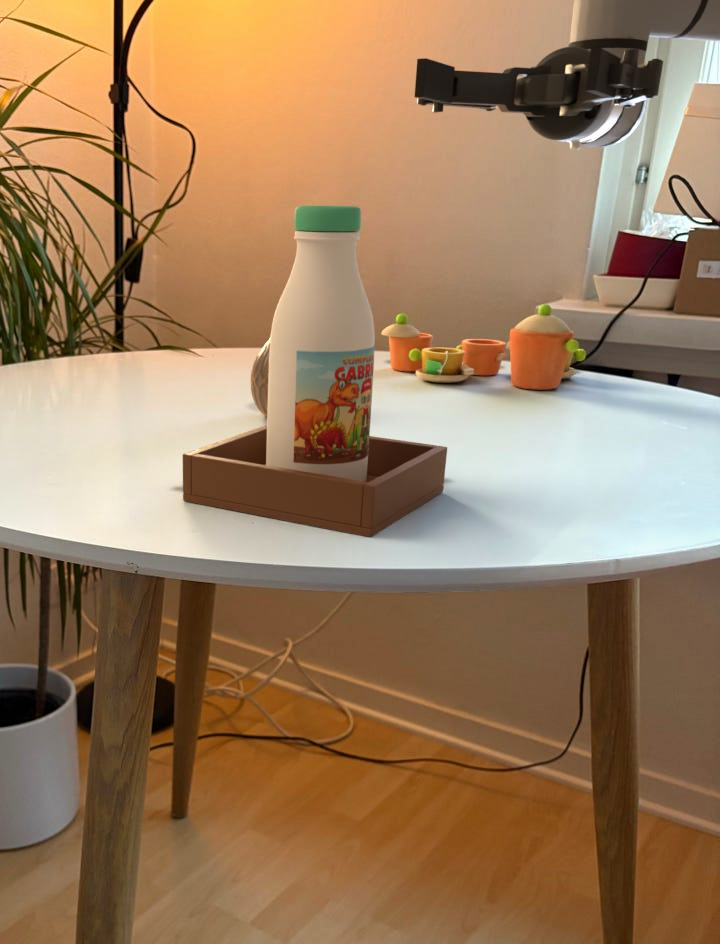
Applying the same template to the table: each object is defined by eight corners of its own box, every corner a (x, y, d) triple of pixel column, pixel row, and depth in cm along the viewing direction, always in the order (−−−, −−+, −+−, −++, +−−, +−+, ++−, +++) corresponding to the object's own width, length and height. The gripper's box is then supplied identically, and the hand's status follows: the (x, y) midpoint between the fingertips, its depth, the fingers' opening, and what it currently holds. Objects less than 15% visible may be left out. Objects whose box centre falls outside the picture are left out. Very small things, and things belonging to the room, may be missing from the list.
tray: (443, 491, 78) (447, 446, 76) (370, 537, 67) (374, 486, 66) (272, 463, 85) (273, 422, 84) (182, 500, 75) (182, 454, 73)
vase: (236, 414, 104) (237, 327, 100) (284, 406, 108) (287, 323, 104) (280, 425, 99) (283, 335, 96) (329, 417, 103) (333, 330, 100)
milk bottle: (253, 497, 74) (258, 204, 65) (280, 472, 80) (288, 204, 72) (355, 507, 72) (373, 206, 63) (373, 480, 78) (393, 205, 70)
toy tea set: (581, 374, 130) (593, 297, 126) (584, 395, 117) (598, 309, 113) (385, 363, 137) (390, 289, 133) (366, 381, 123) (372, 300, 119)
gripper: (708, 139, 88) (664, 125, 72) (443, 143, 100) (353, 131, 83) (726, 42, 85) (685, 3, 68) (451, 58, 97) (359, 28, 80)
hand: (502, 73), depth 76 cm, fingers open, 13 cm apart
